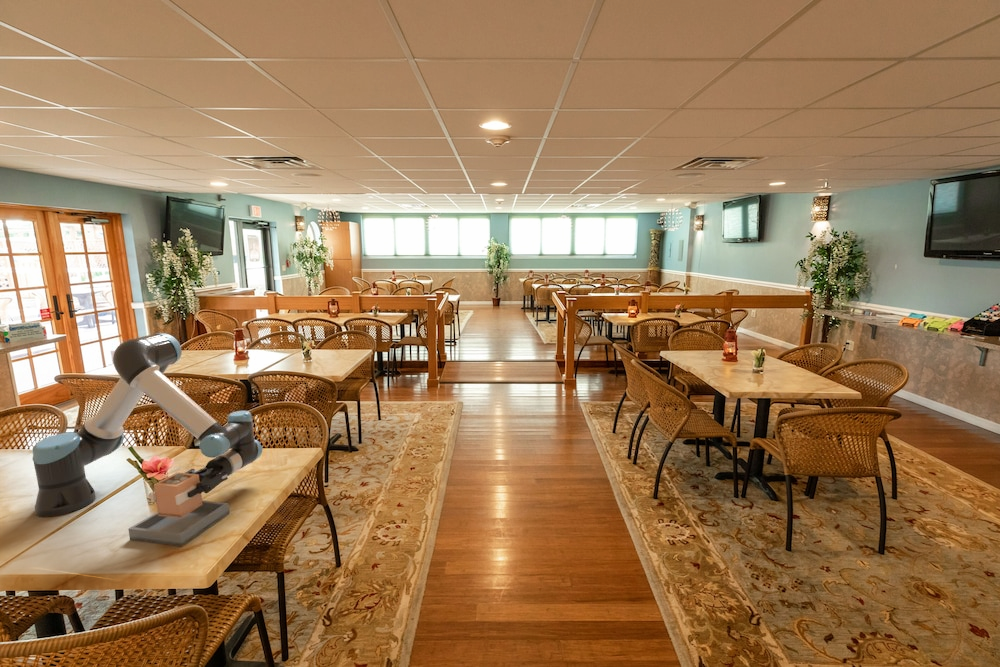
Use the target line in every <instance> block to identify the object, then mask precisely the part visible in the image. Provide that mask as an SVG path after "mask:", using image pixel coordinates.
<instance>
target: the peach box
mask: <svg viewBox="0 0 1000 667" xmlns="http://www.w3.org/2000/svg"><path fill="white" fill-rule="evenodd" d="M198 483H200V480H199V474H189V473H185V472H175V473H173V474H171V475H169V476H167V477H166V478H164V479H161V480H160V481H157V482H156V483H154V484H153V488H154V489H153V490H154V492H155V497H156V501H155V504H156V508H157V510H156V512H158V516H165V517H174V518H182V517H184V516H185V515H187V514H188V513H190V512H191V511H193V510H195V509H196V508H198V507H199V506H201V505H203V503H202V501H203V498H202V497H203V495H202V493H200V494H196V495H195V496H193V497H191V498H189V499H188V500H186V501H184V502H183V503H181V504H179V505H176V498H175V496H176V495H178V494H180V493H182V492H183V491H185V490H187V489H189V488H190V487H192V486H196V488H197V484H198Z"/></svg>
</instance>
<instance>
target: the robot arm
mask: <svg viewBox="0 0 1000 667" xmlns="http://www.w3.org/2000/svg"><path fill="white" fill-rule="evenodd" d="M182 352H183V351H182V347H181V344H180V342H179V341H178V339H176V337H174V336H173V335H171V334H168V333H165V332H164V333H163V332H161V333H153V334H150V335H145V336H140V337H136V338H130V339H127V340H125V341H123V342H122V343H120V344H119V345H118V346H117V347H116V349H115V351H114V352H113V357H112V363H113V366H114V368H115V370H116V372H117V374H118V375H119V376H120V377H119V379H118V380H117V383H116V384H115V385H114V387H113V389H112V390H111V392H110V393H109V394H108V396H107V397H106V399H105V401H104V402H103V403H102V405H101V406H100V408H99V410H98V411H97V412H96V414H95V415H94V416H91V417H89V418H87V419H86V420H85V422H84V423H83V425H82V426H81V427H80V429H79V430H78V431H77V432H63V433H57V434H56V435H51V436H48V437H46V438H43V439H42V440H40V441H38V442H37V443H35V444H34V446H33V448H32V461H33V466H34V469H35V471H34V472H35V476H36V480H37V487H38V492H37V495H36V500H35V505H34V512H35V513H36V514H35V516H37V515H38V516H37V517H41V516H50V517H55V516H56V515H57V516H62V515H65V513H66V514H68V513H72V511H73V512H75V511H78V510H80V508H81V509H83V508H85V507H87V506H88V504H89V505H91V504H92V503H93V502H94V501H95V500H96V499H97V498H96V496H97V494H96V491H95V489H94V488H93V486H92V485H91V483H90V482H89V480H88V479H87V476H86V470H85V466H87V465H89V464H92V463H93V462H95V461H97V460H99V459H101V458H103V457H105V456H108V455H111V454H112V453H114V452H115V451H116V450H117V449H119V448H120V447H121V445H122V444H123V442H124V438H125V435H124V430H125V428H124V426H123V425H124V424H125V422H126V420H127V419H128V418H129V417H130V415H131V414H132V412H133V410H134V409H135V407H136V406H137V404H138V402H140V400H141V398H142V397H143V395H144V394H145V395H146V396H147V397H148V398H149V399H150V400H152V401H153V402H154V403H155V404H156V405H157V406H159V407H160V408H161V409H162V410H164V412H166V414H168V415H169V416H170V417H171V418H172V419H173V420H175V421H176V422H177V423H178V424H179V425H181V427H183V428H184V429H185V430H186V431H187V432H189V433H190V434H191V435H192V436H193V437H195V438H196V439H197V440H198V441H199V447H198V448H199V449H200V453H201V454H202V455H203V456H205V457H207V458H211V459H210V460H208V462H207V463H206V465H205V467H203V468H200V469H198V470H195V468H190V469H189V470H188V471H185V472H184V473H189V474H199V480H200V483H198V484H197V488H196V486H192V487H190V488H189V489H187V490H185V491H183V492H182V493H180V494H178V495H176V496H175V498H176V505H179V504H181V503H183V502H184V501H186V500H188V499H189V498H191V497H193V496H195V495H196V494H200V493H201V494H202V493H204V494H208V493H209V492H211V491H212V490H214V489H215V488H216V487H217V486H219V485H220V484H221V483H222V482H225V481H227V480H228V478H229V476H231V475H233V474H234V473H235V472H238V471H239V470H240V469H243V468H244V467H245V466H247V465H250V464H251V463H253V462H255V461H256V460H257V459H259V458H260V457H261V456H262V453H263V450H264V449H263V446H262V445H261V442H260V441H259V440H257V439H255V434H254V432H255V431H254V424H253V422H254V421H253V417H252V413H251V412H250V411H249V410H237V411H233V412H230V413H229V414H228V415H227V420H226V421H227V423H226V424H224V425H223V426H222V424H220V423H219V422H218V421H217V420H216V419H214V417H212V416H211V415H210V414H209V413H208V412H207V411H205V410H204V409H203V408H202V407H201V406H200V405H199V404H197V403H196V402H195V401H194V400H193V399H192V398H191V397H190V396H189V395H188V394H186V393H185V392H184V391H183V390H182V389H181V388H179V387H178V386H177V385H176V384H175V383H174V382H173V381H172V380H170V378H168V377H167V376H166V375H165V374H164V373H165V372H166V370H167V369H168V368H169V366H170V365H174V364H175V363H177V362H178V361H179V360H180V359H181V357H182ZM212 458H213V459H212ZM150 501H151V503H156V497H155V491H153V492H151V493H150ZM84 506H85V507H84ZM82 507H83V508H82ZM61 514H62V515H61Z"/></svg>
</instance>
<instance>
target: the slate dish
mask: <svg viewBox="0 0 1000 667" xmlns="http://www.w3.org/2000/svg"><path fill="white" fill-rule="evenodd" d="M202 503H203V505H201V506H199V507H198V508H196V509H195V510H193V511H191V512H190V513H188V514H187V515H185V516H184V517H182V518H174V517H165V516H158V511H156V512H155V513H153V514H151V515H150V516H148V517H146V518H145V519H143V520H141V521H139V522H137V523H136V524H134V525H132V526H130V527H129V528H128V535H129V540H130V541H137V542H145V543H152V544H161V545H168V546H175V547H176V546H177V547H183V546H185V545H186V544H187V543H189V542H191V541H192V540H194V539H195V538H196V537H198V536H199V535H200V534H202V533H204V532H205V531H206V530H208V529H209V528H211V527H212V526H214V525H215V524H216V523H218V522H219V521H221V520H222V519H223V518H225V517H226V516H228V515H229V514H230V506H229V503H228V502H222V501H221V502H220V501H209V500H202Z"/></svg>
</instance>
